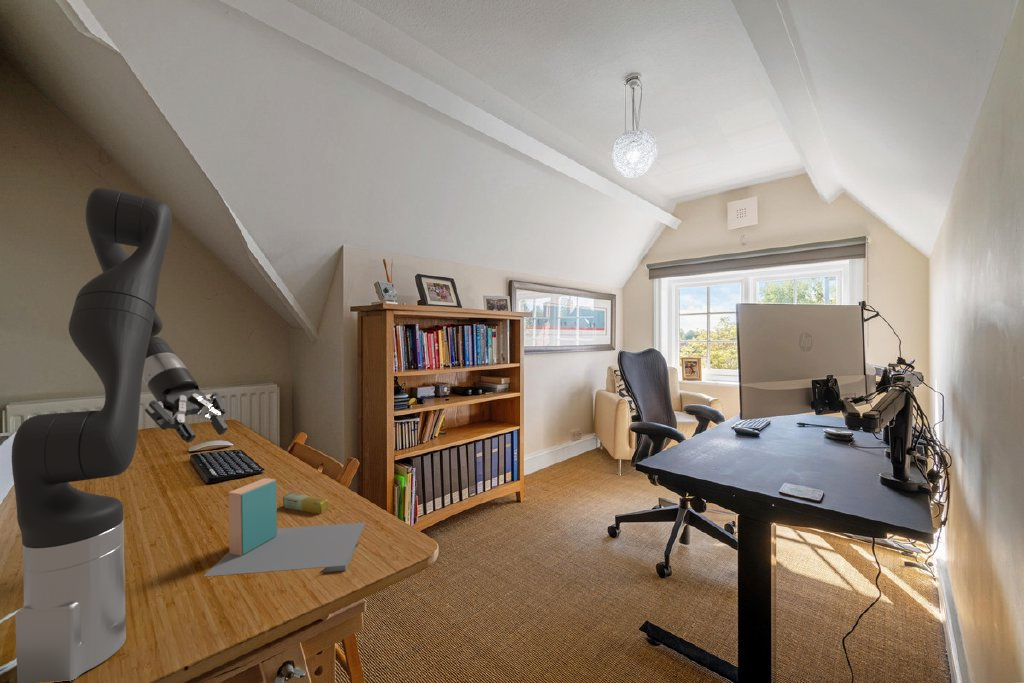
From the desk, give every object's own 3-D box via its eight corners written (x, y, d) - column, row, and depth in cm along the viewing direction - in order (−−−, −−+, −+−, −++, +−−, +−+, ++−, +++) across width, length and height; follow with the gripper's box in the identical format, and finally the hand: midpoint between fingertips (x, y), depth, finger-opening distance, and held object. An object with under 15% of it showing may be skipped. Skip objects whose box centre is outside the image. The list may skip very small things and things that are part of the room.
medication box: (282, 512, 99) (281, 496, 99) (291, 507, 102) (291, 492, 101) (320, 519, 95) (320, 502, 95) (329, 514, 98) (329, 498, 98)
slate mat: (345, 570, 74) (345, 565, 74) (203, 582, 71) (202, 576, 71) (366, 526, 91) (366, 522, 91) (251, 534, 88) (251, 529, 87)
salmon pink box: (229, 553, 78) (228, 492, 78) (265, 533, 86) (264, 478, 86) (242, 556, 77) (241, 494, 77) (277, 535, 85) (276, 479, 85)
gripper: (137, 369, 80) (180, 432, 77) (210, 363, 94) (249, 417, 91) (120, 394, 82) (161, 457, 79) (194, 385, 96) (232, 438, 92)
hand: (208, 435), depth 85 cm, fingers open, 6 cm apart
